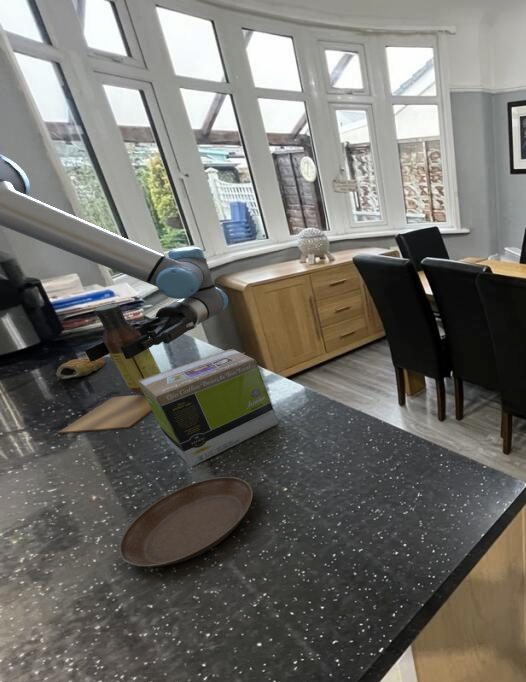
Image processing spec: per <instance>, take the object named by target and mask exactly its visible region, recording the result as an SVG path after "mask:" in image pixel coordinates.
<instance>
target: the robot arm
mask: <svg viewBox="0 0 526 682" xmlns="http://www.w3.org/2000/svg"><path fill="white" fill-rule="evenodd" d="M30 189H31V184H30V180H29V178H28V176H27V174H26V173H25V171H24V170H23V169H22V168H21V166H19V165H18V164H17V163H16V162H14V160H12V159H10V158H9V157H7V156H5V155H3V154H0V227H4V228H6V229H8V230H11V231H13V232H17V233H19V234H21V235H24V236H26V237H29V238H32V239H34V240H37V241H39V242H42V243H44V244H47V245H49V246H52V247H54V248H57V249H60V250H62V251H65V252H67V253H70V254H73V255H74V256H78V257H80V258H82V259H86V260H88V261H90V262H93V263H94V264H95V263H96V264H98V265H101V266H103V267H106V268H108V269H111V270H113V271H115V272H118V273H120V274H124V275H126V276H129V277H132V278H133V279H136V280H139V281H141V282H144V283H146V284H149V285H151V286H154V287H157V289H158V290H159V292H160V293H162V294H163V295H164V296H165V297H167V298H170V299H176V300H175V301H173V302H172V303H169V304H166V305H165V306H162V307H161V308H160V309H158V310H157V311H156V313H155V317H152V318H150V319H149V320H146V321H144V322H139V321H137V320H136V321H133V322H131V323H129V324H130V325H131V326H133V327H134V328H135V329H137V330H139V331H140V334H141V336H142V337H140V338H138V339H136V340H134V341H132V342H130V343H128V344H126V345H124V346H122V347H120V348H121V350H122V352H123V354H124V356H125V358H126V359H130V358H132V357H134V356H136V355H138V354H139V353H141V352H143V351H145V350H146V349H148V348H149V349H150V348H152V347H153V346H158V345H161V344H162V343H164V344H166V345H167V344H170V343H171V342H173V341H175V340H177V339H178V338H179V337H181V336H183V335H184V334H186V333H187V332H190V331H192V330H194V329H195V328H197V326H198V325H200V324H202V323H204V322H205V321H207V320H209V319H210V318H213V317H215V316H217V315H219V314H220V313H221V312H222V311H224V310H225V309H226V308H227V307H228V304H229V298H228V295H227V294H226V293H225V292H224V290H222V289H221V288H219V287H216V284H215V282H214V279H213V276H212V273H211V270H210V267H209V264H208V263H207V261H208V260H207V258H206V256H205V254H204V252H203V251H204V250H202V248H200V247H195V246H191V247H189V246H188V247H182V248H180V247H179V248H174V249H171V250H169V251H168V252H167V255H168V256H165V255H164V254H162V253H159V252H158V251H155V250H152V249H150V248H148V247H145V246H144V245H141V244H139V243H136V242H134V241H132V240H129V239H127V238H126V237H125V238H124V236H123V237H122V236H120V235H118V234H115V233H114V232H110V230H106V229H104V228H102V227H100V226H97V225H95V224H92V223H91V222H88V221H85V220H84V219H82V218H79V217H77V216H74V215H73V214H70V213H67V212H65V211H63V210H61V209H58V208H56V207H53V206H51V205H49V204H46V203H44V202H42V201H40V200H38V199H35V198H33V197H31V196H28V195H29V193H30V191H31V190H30ZM100 338H101V340H102V341H100V342H98V343H95V344H93V345H91V346H89V347H87V348H84V352H85V354H86V356H87V357H88V358H89V360H90V361H96V360H97V359H99V358H101V357H102V358H104V357H105V356H107V355H110V354H109V351H108V349H107V347H106V345H105V344H104V342H103V339H102V338H103V335H101V336H100Z"/></svg>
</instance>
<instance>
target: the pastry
mask: <svg viewBox="0 0 526 682" xmlns="http://www.w3.org/2000/svg"><path fill="white" fill-rule="evenodd" d="M105 363H106V361H105V359H104V357H101V358H99V359H97V360H96V361H90V360H89V358H88V356H87V357H86V356H84V357H79V358H73V359H71V360H68V361H67V362H64V363H62V364H60V365H59V366H58V367H57V370H56V373H55V376H56V377H57V378H60V380H69V379H73V378H81V377H85V376H88V375H90V374H92V372H94V371H98V370H99V369H101V368H102V367H103V366H104V365H105Z"/></svg>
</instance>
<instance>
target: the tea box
mask: <svg viewBox="0 0 526 682" xmlns="http://www.w3.org/2000/svg"><path fill="white" fill-rule="evenodd" d="M138 383H139V385H140V387H141V389H142V391H143V392H142V394H143V395H145V397H146V399H147V401H148V403H149V405H150V407H151V409H152V411H151V412H153V415H154V417H155V419H156V421H157V424H158V425H159V428H160V429H161V432H162V433H163V434H164V437H165V438H166V441H167V442H168V444H169V446H170V447H171V448H172V449H173V450H174V451H175V452H176V453H177V454H178V455H179V456H180V457H181V459H183V460H184V461H185V462H186V464H187V465H189V467H191V468H193V467H194V466H196V465H198V464H200V463H202V462H204V461H207V460H209V459H211V458H212V457H214V456H217V455H218V454H220V453H222V452H225V451H226V450H229V449H230V448H232V447H235V446H237V445H238V444H240V443H243V442H244V441H246V440H249V439H250V438H253V437H254V436H257V435H259V434H260V433H262V432H265V431H266V430H268V429H270V428H272V427H275V426H277V425H278V424H279V421H278V419H277V415H276V412H275V410H274V408H273V407H274V406H273V404H272V402H271V399H270V396H269V393H268V390H267V387H266V385H265V382H264V379H263V376H262V374H261V371H260V367H259V366H258V363H257V360H256V359H255V358H252V357H250V356H248V355H246V354H244V353H242V352H240V351H237V350H235V349H234V348H231V349H227V350H224V351H221V352H219V353H215V354H213V355H210V356H206V357H203V358H201V359H198V360H195V361H192V362H189V363H186V364H182V365H179V366H177V367H174V368H171V369H168V370H166V371H163V372H162V371H161V373H159V374H156V375H154V376H151V377H148V378H145V379H141V380H139V381H138Z"/></svg>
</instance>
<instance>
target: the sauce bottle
mask: <svg viewBox="0 0 526 682" xmlns="http://www.w3.org/2000/svg"><path fill="white" fill-rule="evenodd" d="M93 312H94V314H95V316H97V317H98V319H99V321H100V323H101V324H102V328H103V329H104V331H103V333H102V336H103V338H101V340H102V339H103V340H102V341H103V342H104V344H105V345H106V347H107V349H108V351H109V354H108V355H109V356H110V357H111V359H112V360H113V363H114V365H115V366H116V368H117V370H118V371H119V373H120V375H121V377H122V379H123V381H124V383H125V385H126V386H127V388H128V389H129V390H130V391H131V392H133V393H136V394H140V393H143V391H142V389H141V387H140V385H139V383H138V381H139V380H141V379H145V378H148V377H151V376H154V375H156V374H159V373H162V371H161V369H160V368H159V365H158V363H157V361H156V360H155V358H154V355H153V354H152V351H151V349H150V348H148V349H146V350H145V351H143V352H141V353H139V354H138V355H136V356H134V357H132V358H130V359H126V358H125V356H124V354H123V352H122V350H121V348H120V347H122V346H124V345H126V344H128V343H130V342H132V341H134V340H136V339H138V338H140V337H142V336H141V334H140V331H139V330H137V329H135V328H134V327H133V326H131V325H130V324H131V323H129V322H128V320H126V317H125V315H124V313H123V309H122V307H121V304H119V303H109V304H104V305H101V306H98V307H95V308H94V309H93Z"/></svg>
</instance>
